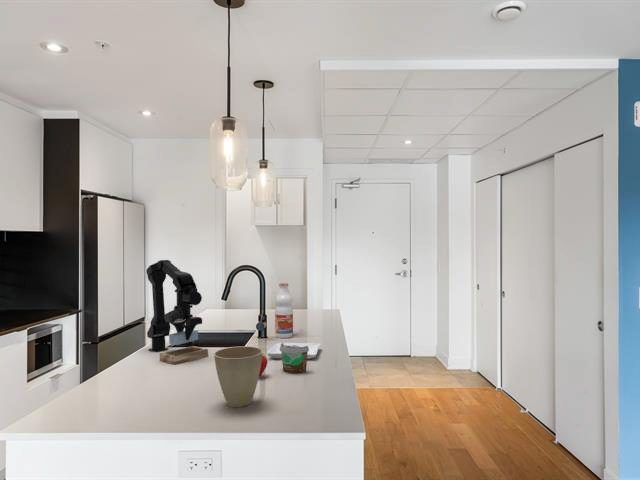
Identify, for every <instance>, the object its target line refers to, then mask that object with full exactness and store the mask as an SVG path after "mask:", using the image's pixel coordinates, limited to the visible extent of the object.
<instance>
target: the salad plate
mask: <svg viewBox="0 0 640 480" xmlns="http://www.w3.org/2000/svg"><path fill="white" fill-rule="evenodd" d="M282 343H283V345H286V346H299V347H304V346H308V347H309V351H308V353H307V360H310V359H314V358H315V357H316V356H317V353H318V351H319V348H320V347H321V345H322V344H321V343H312V342H311V343H309V342H276V343H274V345H273V346H272V347H271V348H269V350H268V351H267V352H266V355H267V356H268V357H271V358H273V359H277V360H282V353H281V351H280V346H281V344H282Z"/></svg>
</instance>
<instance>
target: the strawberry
mask: <svg viewBox="0 0 640 480" xmlns="http://www.w3.org/2000/svg"><path fill="white" fill-rule="evenodd" d="M267 366H268V359H267V356H266V355H265V354H263V353H262V361H261V368H260V373H259V378H260V377H262V374H263V373H264V372H265V370H266V368H267Z"/></svg>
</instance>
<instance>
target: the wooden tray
mask: <svg viewBox="0 0 640 480" xmlns="http://www.w3.org/2000/svg"><path fill="white" fill-rule="evenodd" d="M208 357H209V349H208V348H204V347H200V346H195V345H193V346H188V347H184V348H179V349H175V350H174V349H173V350H169V351H165V352H161V353H159V362H162V363H166V364H169V365H173V366H175V365H179V364H182V363H183V364H184V363H187V362H192V361H196V360H199V359H204V358H208Z"/></svg>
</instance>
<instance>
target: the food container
mask: <svg viewBox="0 0 640 480" xmlns="http://www.w3.org/2000/svg"><path fill="white" fill-rule="evenodd" d="M281 343H282V344H281V346H280V351H281V353H282V359H281V361H282V362H281V364H282V370H283V372H284V373H286V374H293V375H294V374H296V375H297V374H303V373H306V372H307V365H308V359H307V353H308V351H309V347H308V346H304V347H299V346H286V345H283V343H284V342H281Z"/></svg>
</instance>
